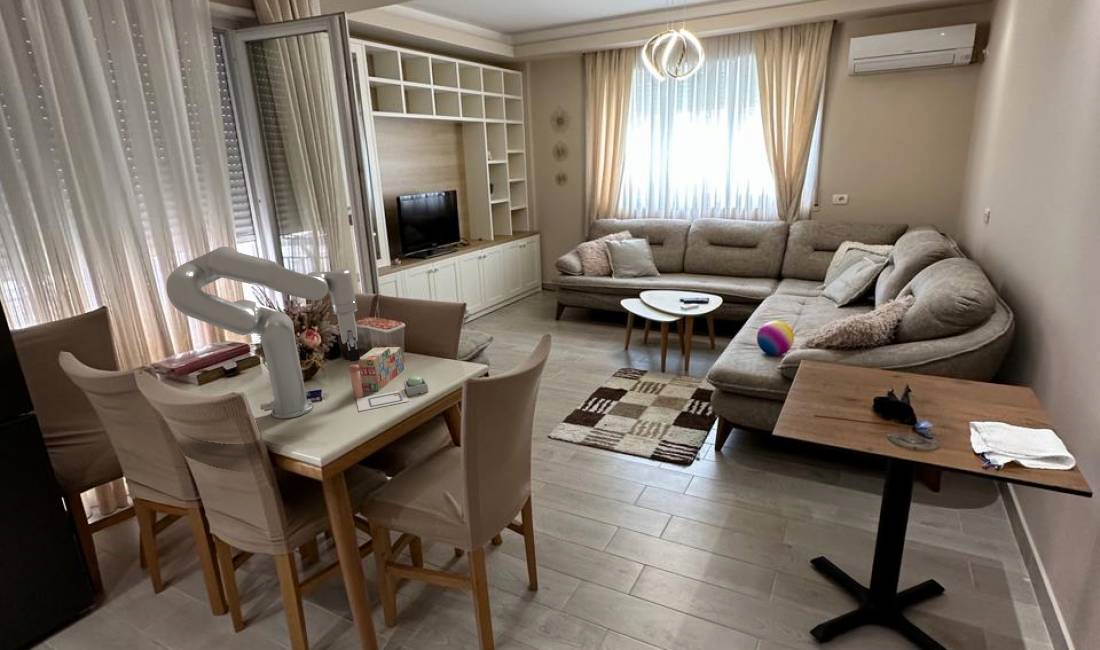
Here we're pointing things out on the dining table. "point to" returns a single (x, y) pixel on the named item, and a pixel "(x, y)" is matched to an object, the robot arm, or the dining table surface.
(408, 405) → the dining table surface
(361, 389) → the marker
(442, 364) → the dining table surface
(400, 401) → the sheet
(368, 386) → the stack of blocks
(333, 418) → the dining table surface
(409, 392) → the button housing
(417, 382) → the button
